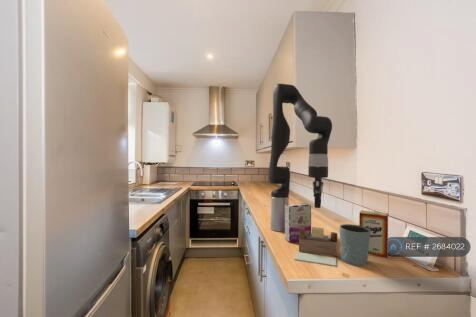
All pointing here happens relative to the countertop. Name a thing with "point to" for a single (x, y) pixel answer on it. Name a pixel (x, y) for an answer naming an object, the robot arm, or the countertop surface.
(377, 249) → the baking soda box
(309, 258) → the mat
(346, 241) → the teal cup
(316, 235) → the lever cap
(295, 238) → the candy bar box
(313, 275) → the countertop surface
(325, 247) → the body
